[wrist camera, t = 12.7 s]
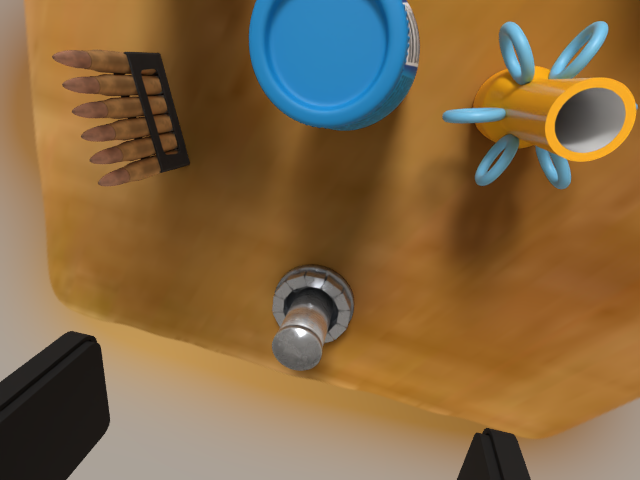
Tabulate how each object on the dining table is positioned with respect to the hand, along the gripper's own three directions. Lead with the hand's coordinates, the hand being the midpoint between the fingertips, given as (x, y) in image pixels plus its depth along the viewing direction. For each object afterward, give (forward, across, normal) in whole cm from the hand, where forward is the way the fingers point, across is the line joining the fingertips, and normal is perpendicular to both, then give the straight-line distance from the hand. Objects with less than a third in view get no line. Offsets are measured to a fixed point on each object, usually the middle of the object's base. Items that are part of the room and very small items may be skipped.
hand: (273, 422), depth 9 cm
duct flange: (+30, +3, +16) cm, 34 cm away
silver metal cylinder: (+30, +3, +16) cm, 34 cm away
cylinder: (+31, -11, -7) cm, 33 cm away
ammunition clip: (+31, +20, -3) cm, 37 cm away
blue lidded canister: (+31, +2, -9) cm, 32 cm away
